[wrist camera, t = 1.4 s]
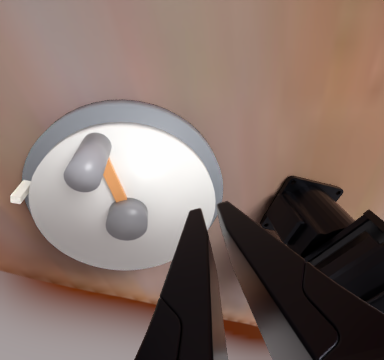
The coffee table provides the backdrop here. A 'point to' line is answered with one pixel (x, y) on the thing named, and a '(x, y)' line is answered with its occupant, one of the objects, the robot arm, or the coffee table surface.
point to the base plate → (119, 113)
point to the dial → (119, 195)
